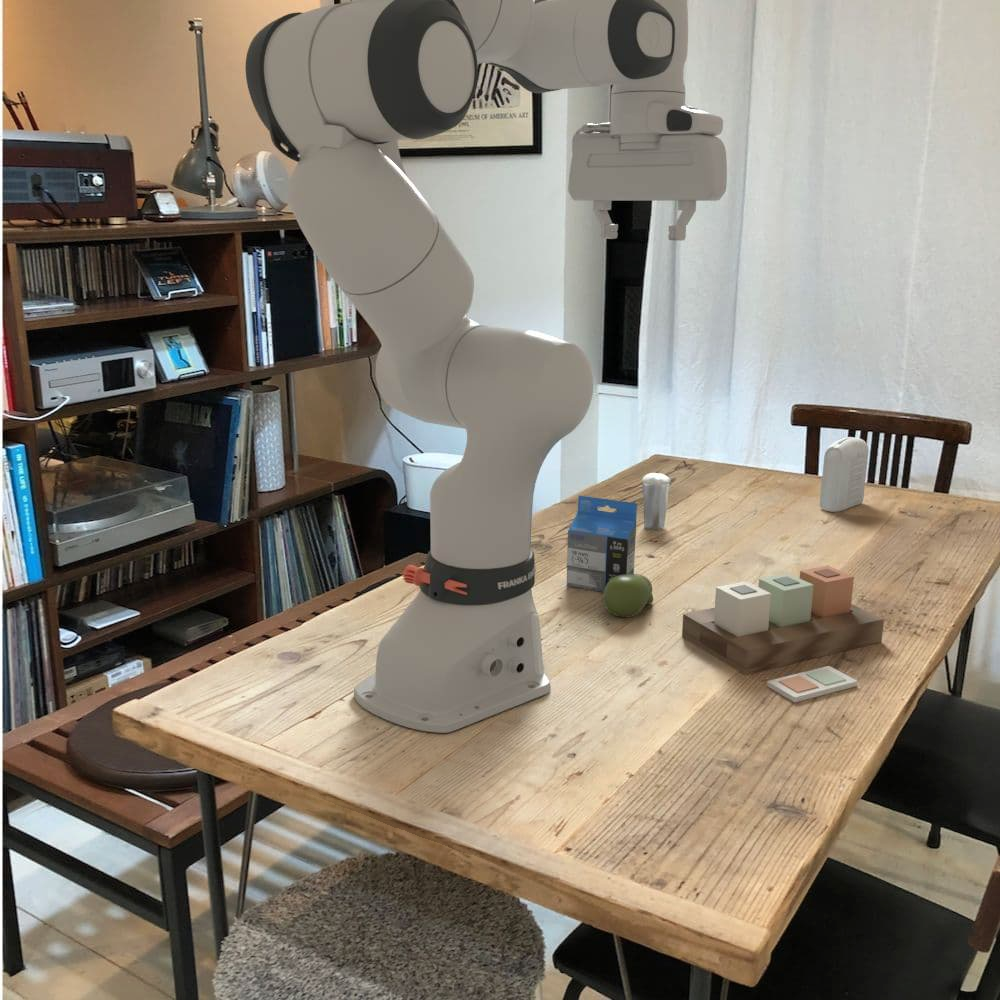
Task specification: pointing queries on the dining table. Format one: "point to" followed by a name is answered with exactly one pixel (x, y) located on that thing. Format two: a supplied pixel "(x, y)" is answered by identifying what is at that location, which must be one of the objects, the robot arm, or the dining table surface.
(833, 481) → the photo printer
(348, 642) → the dining table surface
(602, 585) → the label tape cartridge
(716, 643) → the keypad base
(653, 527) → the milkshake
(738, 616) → the key ivory
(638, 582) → the pear
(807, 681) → the tile
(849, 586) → the key rust
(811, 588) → the key sage
